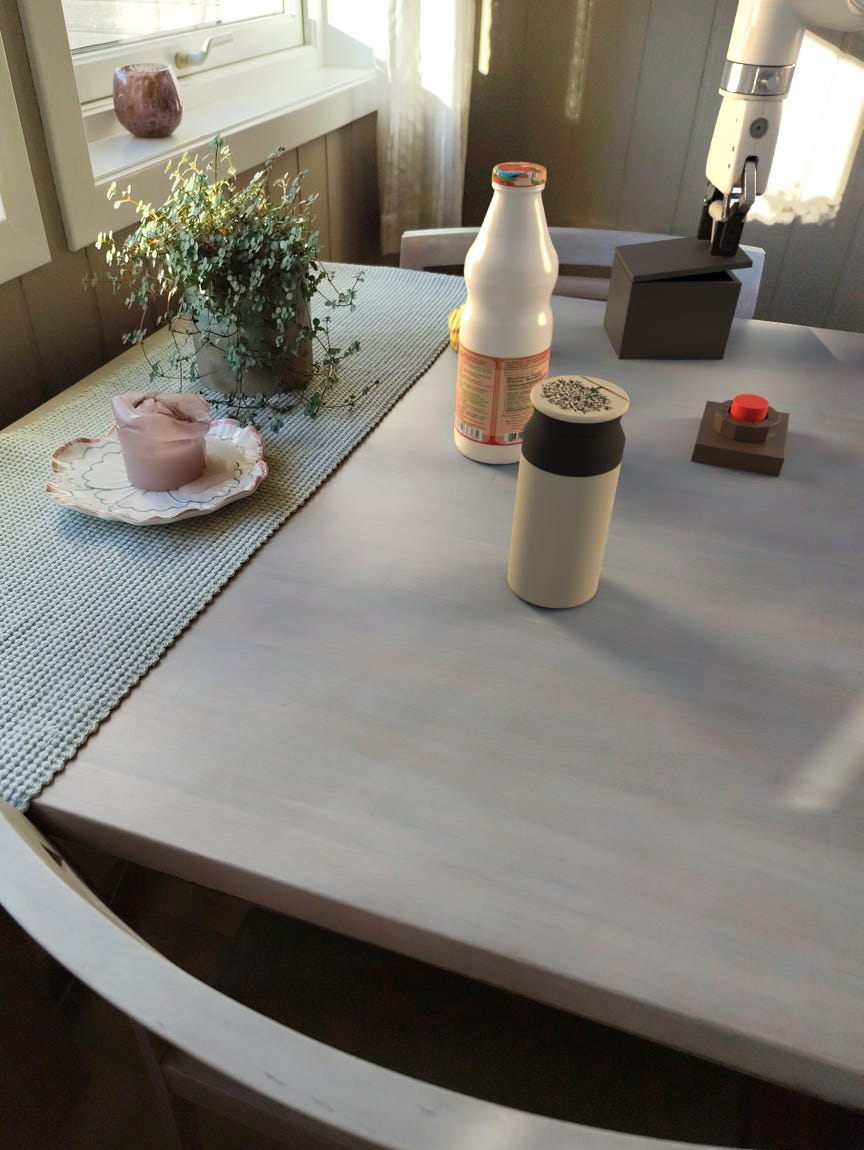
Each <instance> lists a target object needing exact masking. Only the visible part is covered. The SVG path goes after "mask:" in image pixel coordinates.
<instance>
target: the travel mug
mask: <svg viewBox="0 0 864 1150" xmlns="http://www.w3.org/2000/svg"><path fill="white" fill-rule="evenodd" d="M530 399H531V402H532V404H533V407H534V414H533V415H532V416H531V418H530V419H529V421H528V422H527V423H526V425H525V426H524V429H523V437H522V446H521V455H520V461H519V465H518V475H517V484H516V493H515V502H514V511H513V520H512V531H511V538H510V539H511V540H510V549H509V557H508V558H509V559H508V567H507V577H506V580H507V583H508V586H509V588H510V589H511V591H512V593H514V594H515V595H516V596H517V597H519V598H520V599H522V600H524V601H526V602H527V603H530V604H533V605H536V606H539V607H543V608H548V609H549V608H550V609H567V608H573V607H577V606H580V605H582V604H584V603H586V602H588V601H590V600H591V599H592V598H593V597H594V596H595V595H596V593H597V590H598V587H599V586H598V585H599V581H600V576H601V569H602V565H603V561H604V560H603V559H604V555H605V549H606V545H607V544H606V543H607V539H608V533H609V528H610V523H611V518H612V513H613V508H614V503H615V499H616V498H615V497H616V492H617V487H618V482H619V476H620V473H621V471H620V470H621V465H622V460H623V457H624V451H625V445H626V435H625V432H624V429H623V426H622V424H621V421H622V418H623V415H624V414H625V413H626V411H628V409H629V408H630V407H629V406H630V397H629V396H628V394H627V393H626V391H625V390H624V389H622V388H621V387H620V386H618V385H617V384H615V383H612V382H610V381H608V380H605V379H601V378H598V377H593V376H589V375H588V376H587V375H574V374H573V375H571V374H569V375H559V376H554V377H550V378H547V379H546V380H544V381H541V382H540V383H538V384H537V385H535V386H534V388H533V389H532V391H531V393H530Z"/></svg>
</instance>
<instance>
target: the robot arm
mask: <svg viewBox="0 0 864 1150" xmlns="http://www.w3.org/2000/svg"><path fill="white" fill-rule="evenodd" d="M807 26H813V27H820V28H825V29H830V30H835V31H839V32H849V33H850V32H851V33H852V32H860V31H864V0H738V5H737V10H736V14H735V19H734V23H733V28H732V31H731V36H730V41H729V46H728V49H727V53H726V59H725V62H724V68H723V72H722V75H721V80H720V86H719V90H718V94H719V95H721V96H723V98H722V101H721V105H720V108H719V112H718V115H717V119H716V123H715V127H714V130H713V135H712V139H711V141H710V147H709V151H708V155H707V160H706V167H705V176H706V178H707V179H708V181H707V183H706V184H707V185H706V186H707V190H706V192H705V195H704V199H703V204H704V205H703V206H702V209H701V213H700V214H701V215H700V219H699V223H698V227H697V233H696V236H697V238H698V239H699V240H711V237H712V227H713V218H712V217H711V215H710V214H709V207H710V205H711V204H712V203H713V202H714V201H717V200H721V201H723V206H722V213H721V220H717V223H716V227H715V231H714V236H713V240H712V244H711V248H710V254H711V255H712V256H735V255H736V254H737V250H738V246H740V242H741V239H742V234H743V230H744V227H745V223H746V222H747V219H748V213H749V211H751V208H752V206H753V205H754V203H755V202H756V198H757V197H761V196H763V195H764V194H765V193H766V191H767V187H768V184H769V179H770V174H771V170H772V166H773V162H774V157H775V153H776V149H777V145H778V144H777V143H778V137H779V134H780V128H781V122H782V115H783V107H784V100H787V99H788V96H789V92H790V88H791V86H792V81H793V77H794V74H795V71H796V66H797V62H798V58H799V54H800V51H801V47H802V43H803V40H804V36H805V33H806V29H807ZM734 189H740V192H734ZM732 200H738V201H734V202H733V204H732V205H731V202H732Z"/></svg>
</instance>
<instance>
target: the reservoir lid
mask: <svg viewBox="0 0 864 1150" xmlns="http://www.w3.org/2000/svg"><path fill="white" fill-rule="evenodd" d="M722 206H723V201H721V200H717V201H714V202H713V203H712V204H711V205H710V207H709V214H710V215H711V217H712V218H713V227H712V237H711V240H699V239H698V238H697V235H694V236H686V237H678V238H670V239H663V240H655V241H646V242H640V243H639V242H638V243H631V244H623V245H617V246H615V247H614V254H615V253H616V255H617V256H618V258H619V260H620V262H621V263H622V265H623V267H624V268H625V270H626V272H627V274H628V275H629V277H630V279H631V281H632V282H640V281H648V280H656V279H664V278H672V277H680V276H688V275H696V274H704V273H712V272H720V271H728V270H731V271H736V270H744V269H750V268H753V264H754V261H753V259H752V258H751V257H750V256H749V255H748V254H747V253H746V252H745V251H744V250H743V248H742V247H741V246H740V245H739V246H738V250H737V254H736V255H735V256H712V255H711V254H710V248H711V244H712V240H713V236H714V231H715V227H716V223H717V220H721V213H722Z"/></svg>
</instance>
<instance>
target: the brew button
mask: <svg viewBox="0 0 864 1150" xmlns="http://www.w3.org/2000/svg"><path fill="white" fill-rule="evenodd" d="M732 400H733V404H732V408H731V411H730V415H731V416H732V417H734V418H737V419H739V420H741V421H747V422H762V421H764V419H765V416H766V413H767V409H768V406H770V402H769V400H768V399H766V398H765V397H763V396H760V395H757V394H753V393H741V394H738V395H736V396H735V397H734V398H733V399H732Z"/></svg>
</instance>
